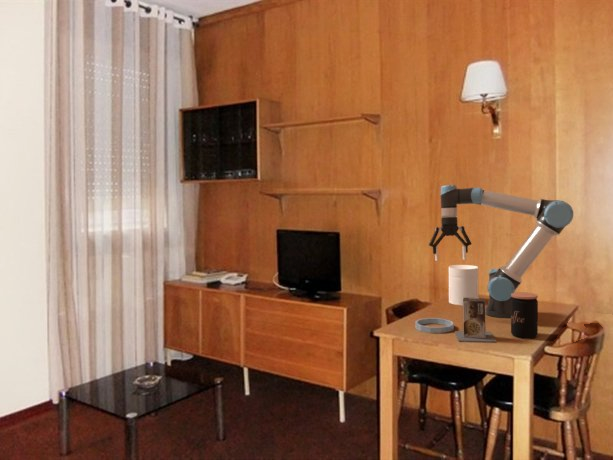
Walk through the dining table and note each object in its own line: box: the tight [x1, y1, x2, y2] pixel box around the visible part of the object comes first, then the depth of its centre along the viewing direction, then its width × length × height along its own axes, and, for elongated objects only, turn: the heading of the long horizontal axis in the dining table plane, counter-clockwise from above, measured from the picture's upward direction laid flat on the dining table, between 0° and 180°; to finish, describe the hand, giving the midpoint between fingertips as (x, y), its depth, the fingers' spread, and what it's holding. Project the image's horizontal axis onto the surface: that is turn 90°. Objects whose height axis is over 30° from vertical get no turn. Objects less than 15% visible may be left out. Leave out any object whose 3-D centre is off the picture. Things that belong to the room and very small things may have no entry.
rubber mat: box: [454, 330, 497, 343], centre depth 220 cm, size 15×14×1 cm
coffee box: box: [462, 297, 487, 338], centre depth 220 cm, size 9×6×16 cm
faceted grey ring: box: [414, 317, 455, 334], centre depth 237 cm, size 17×17×2 cm
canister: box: [448, 264, 479, 306], centre depth 287 cm, size 16×16×20 cm
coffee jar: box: [510, 291, 539, 340], centre depth 220 cm, size 11×11×18 cm
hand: (450, 260), depth 251 cm, fingers open, 13 cm apart
